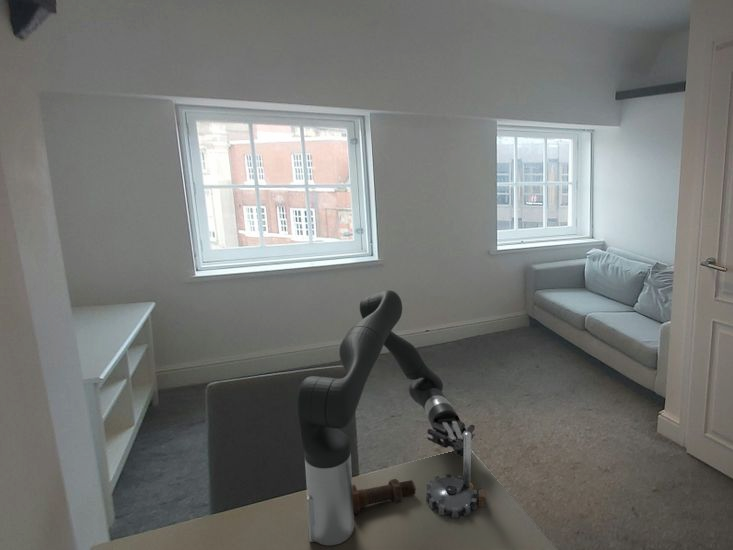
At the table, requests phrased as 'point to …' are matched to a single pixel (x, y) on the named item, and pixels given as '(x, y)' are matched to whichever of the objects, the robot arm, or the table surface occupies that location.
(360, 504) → the bolt
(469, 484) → the sprocket
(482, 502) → the brown block
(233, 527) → the table surface
